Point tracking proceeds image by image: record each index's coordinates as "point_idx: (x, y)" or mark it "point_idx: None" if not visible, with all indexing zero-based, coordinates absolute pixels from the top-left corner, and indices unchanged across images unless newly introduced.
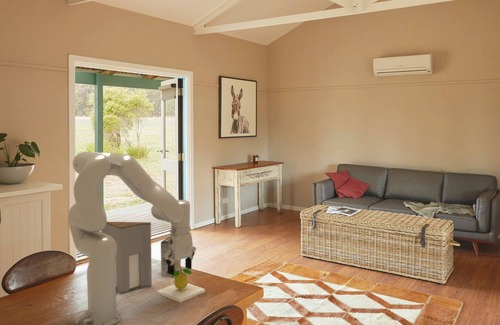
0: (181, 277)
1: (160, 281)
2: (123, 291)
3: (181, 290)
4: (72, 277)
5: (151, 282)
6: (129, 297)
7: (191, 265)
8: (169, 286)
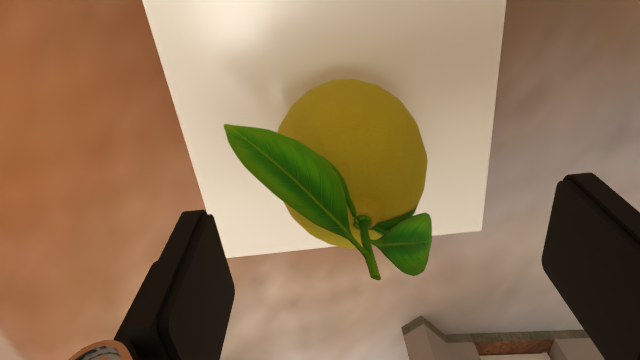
0: (393, 143)
1: (316, 346)
2: None
3: None
4: None
5: (410, 346)
6: None
7: (170, 242)
8: None
